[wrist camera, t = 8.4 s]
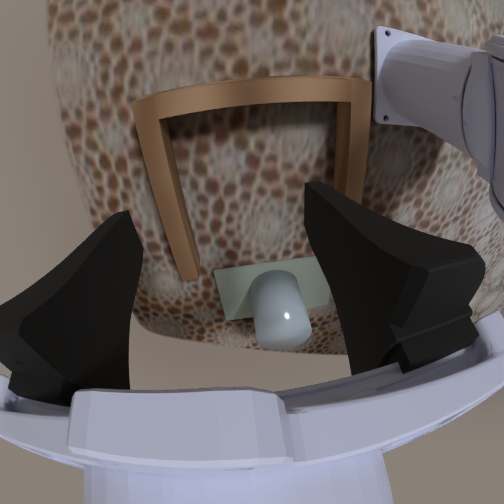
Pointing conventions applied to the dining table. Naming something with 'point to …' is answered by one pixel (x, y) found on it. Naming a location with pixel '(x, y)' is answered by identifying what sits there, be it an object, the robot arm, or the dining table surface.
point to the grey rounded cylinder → (279, 311)
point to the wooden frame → (237, 94)
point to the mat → (240, 278)
